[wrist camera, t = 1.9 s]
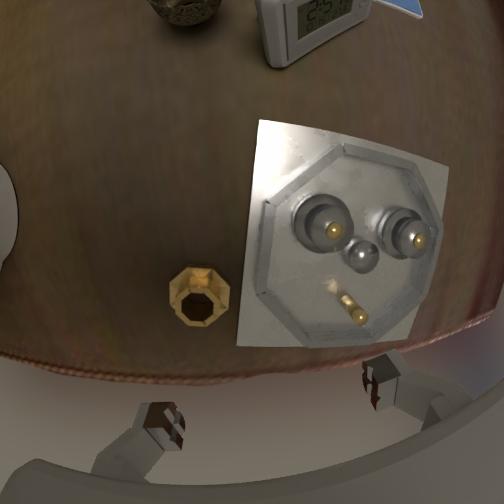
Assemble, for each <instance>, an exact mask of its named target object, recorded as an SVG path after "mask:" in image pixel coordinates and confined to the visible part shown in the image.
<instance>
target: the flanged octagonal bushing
mask: <svg viewBox="0 0 504 504" xmlns="http://www.w3.org/2000/svg"><path fill="white" fill-rule="evenodd" d="M190 293H203V294H205V295H206V296H207V297H208V298H209V299H210V300H209V301H208V302H207V303H206V304H205V303H194V302H193V301H192V300H191V299H190V298H189V297H188V296H187V295H189V294H190ZM229 294H230V281H229V280H228V279H227V278H226V277H225V276H224V275H223V274H222V273H221V272H220V271H219V270H218V268H217V267H216V266H215V265H214V264H203V263H188V264H187V265H186V266H184V267H183V268H182V269H181V270H180V271H179V272H178V273H176V274H175V275H174V276H173V277H172V278H171V280H170V305H171V306H172V307H173V308H174V309H175V313H176V315H177V316H178V317H179V318H180V319H182V320H183V321H184V322H185V323H186V324H187V325H188V326H199V327H207V326H208V325H209V324H211V323H212V322H213V321H215V320H216V319H217V318H219V316H220V315H221V314H223V313H224V312H225V311H227V310H228V307H229Z"/></svg>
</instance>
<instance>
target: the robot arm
mask: <svg viewBox="0 0 504 504" xmlns="http://www.w3.org/2000/svg"><path fill="white" fill-rule="evenodd" d="M17 222H18V214H17V202H16V196H15V192H14V188H13V185H12V182H11V179H10V177H9V175H8V173H7V172H6V170H5V169H4V168H3V166H2V165H1V164H0V271H1V267H2V263H3V261H4V259H5V258H6V257H7V256H8V255H9V253H10V252H11V250H12V248H13V245H14V242H15V238H16V233H17ZM362 368H363V370H364V373H363V374H362V381H363V386H364V389H365V391H366V393H367V394H368V395H370V396H371V403H372V405H373V407H374V409H375V411H376V412H377V411H380V410H383V409H385V408H388V407H390V406H393V405H394V406H395V407H397V408H399V409H401V410H402V411H404V412H406V413H408V414H410V415H411V416H413V417H415V418H417V419H419V420H421V421H423V422H424V423H423V426H422V428H421V431H420V432H419V433H417V434H415V435H413V436H411V437H408V438H406V439H404V440H402V441H400V442H398V443H395V444H393V445H390V446H388V447H386V448H383V449H381V450H378V451H375V452H373V453H370V454H368V455H365V456H362V457H359V458H356V459H353V460H350V461H347V462H344V463H340V464H337V465H334V466H330V467H326V468H322V469H319V470H315V471H310V472H306V473H302V474H297V475H292V476H287V477H282V478H276V479H269V480H262V481H254V482H246V483H234V484H219V485H170V484H155V483H150V482H148V481H147V480H146V479H145V478H144V477H145V475H146V474H147V473H148V472H149V471H150V470H151V468H152V467H153V466H154V465H155V463H156V462H157V461H158V460H159V459H160V457H161V456H162V455H163V454H164V451H181V450H182V445H183V438H182V437H181V435H182V434H183V433H184V432H185V420H184V417H183V415H182V414H181V413H180V412H178V411H177V410H176V408H177V406H176V405H175V404H174V402H152V403H142V404H141V405H140V407H139V410H138V412H137V415H136V418H135V421H134V424H133V426H132V428H129V429H128V430H127V431H125V433H123V434H122V435H121V436H119V437H118V438H117V439H116V440H115V441H114V442H112V443H111V444H110V445H109V446H107V447H106V448H105V449H104V450H103V451H101V452H100V453H99V454H98V455H97V457H96V460H95V462H94V465H93V468H92V470H91V473H85V472H81V471H77V470H73V469H70V468H66V467H63V466H59V465H56V464H53V463H50V462H47V461H44V460H41V459H34V460H32V461H29V462H27V463H26V464H24V465H23V466H21V467H19V468H18V469H17V470H15V471H14V472H13V473H12V475H11V476H10V478H9V479H8V481H7V483H6V484H5V486H4V488H3V490H2V491H1V493H0V504H504V379H502V380H501V381H500V382H498V383H497V384H496V385H495V386H493V387H492V388H490V389H489V390H488V391H486V392H485V393H484V394H482V395H481V396H479V397H478V398H477V399H475V400H473V399H472V398H471V397H470V396H469V394H468V393H467V392H466V391H465V389H464V388H463V387H462V386H461V385H460V383H457V382H454V381H450V380H447V379H444V378H441V377H437V376H434V375H431V374H428V373H425V372H422V371H419V370H416V369H415V370H412V369H411V368H410V366H409V365H408V364H407V362H406V361H405V360H404V359H403V357H402V356H401V355H400V353H399V352H398V351H397V350H396V349H392V350H390V351H387V352H385V353H382V354H379V355H377V356H374V357H372V358H369V359H366V360H363V362H362Z"/></svg>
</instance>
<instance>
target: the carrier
mask: <svg viewBox="0 0 504 504" xmlns="http://www.w3.org/2000/svg"><path fill="white" fill-rule="evenodd" d="M448 171H449V167H447V166H444V165H442V164H439V163H436V162H434V161H431V160H428V159H425V158H423V157H420V156H417V155H414V154H411V153H408V152H405V151H402V150H399V149H395V148H392V147H389V146H385V145H382V144H379V143H375V142H371V141H368V140H364V139H360V138H356V137H352V136H348V135H344V134H339V133H335V132H330V131H325V130H321V129H315V128H310V127H305V126H299V125H293V124H287V123H281V122H274V121H266V120H259V121H258V127H257V136H256V145H255V155H254V164H253V174H252V183H251V193H250V202H249V212H248V222H247V232H246V242H245V252H244V262H243V272H242V282H241V292H240V303H239V313H238V324H237V335H236V346H260V347H297V346H304V347H306V346H307V348H325V347H343V346H358V345H370V344H372V343H373V342H374V343H375V342H384V341H393V340H402V339H407V337H408V335H409V332H410V329H411V327H412V324H413V321H414V319H415V316H416V313H417V310H418V307H419V304H420V303H421V302H422V301H423V300H424V299H425V296H427V293H428V290H429V287H430V284H431V280H432V277H433V273H434V270H435V266H436V262H437V259H438V255H439V250H440V246H441V242H442V237H443V233H444V229H443V227H444V225H443V222H442V214H443V209H444V202H445V196H446V188H447V180H448Z"/></svg>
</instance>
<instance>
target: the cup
mask: <svg viewBox="0 0 504 504" xmlns="http://www.w3.org/2000/svg"><path fill="white" fill-rule="evenodd" d="M147 1H148V2H149V3H150V4H151V6H152V7H153V8H154V10H155V11H156V12H157V13H158V15H159V16H160V17H162V18H163V19H164V20H165V21H167V22H169V23H171V24H174V25H179V26H185V27H193V26H197V25H199V24H201V23H202V22H203V21H205V20H207V19H208V18H210V17H211V16H212V15H213V14H214V13H215V12H216V11H217V9H218V7H219V6H220V3H221V1H222V0H147Z"/></svg>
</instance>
